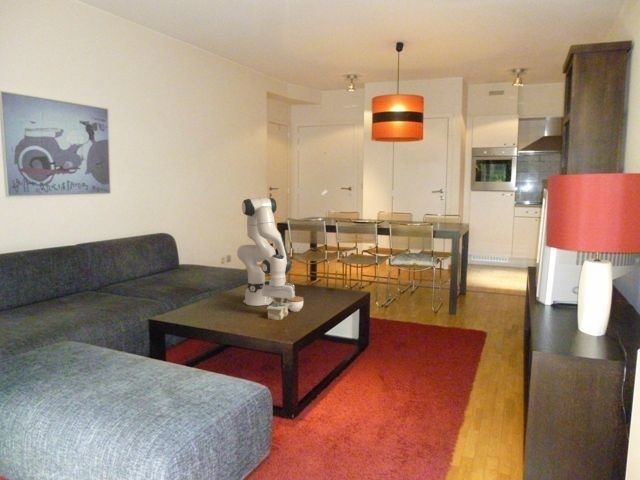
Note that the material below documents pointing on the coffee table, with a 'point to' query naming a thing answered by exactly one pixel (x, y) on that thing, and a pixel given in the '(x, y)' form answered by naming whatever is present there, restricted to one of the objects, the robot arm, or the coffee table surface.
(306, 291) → the coffee table surface
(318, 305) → the coffee table surface
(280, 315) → the box
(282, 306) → the lid
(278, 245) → the robot arm
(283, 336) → the coffee table surface
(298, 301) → the lidded jar
